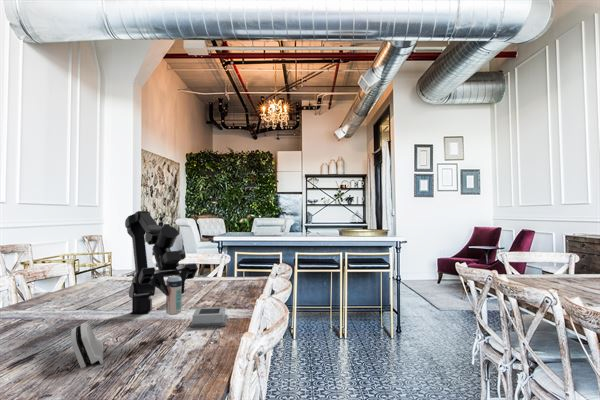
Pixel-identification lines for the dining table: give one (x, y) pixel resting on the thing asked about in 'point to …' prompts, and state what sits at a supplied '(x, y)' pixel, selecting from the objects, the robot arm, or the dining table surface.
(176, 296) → the labelled cylindrical container
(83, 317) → the dining table surface
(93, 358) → the grey grooved device
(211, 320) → the rail block
